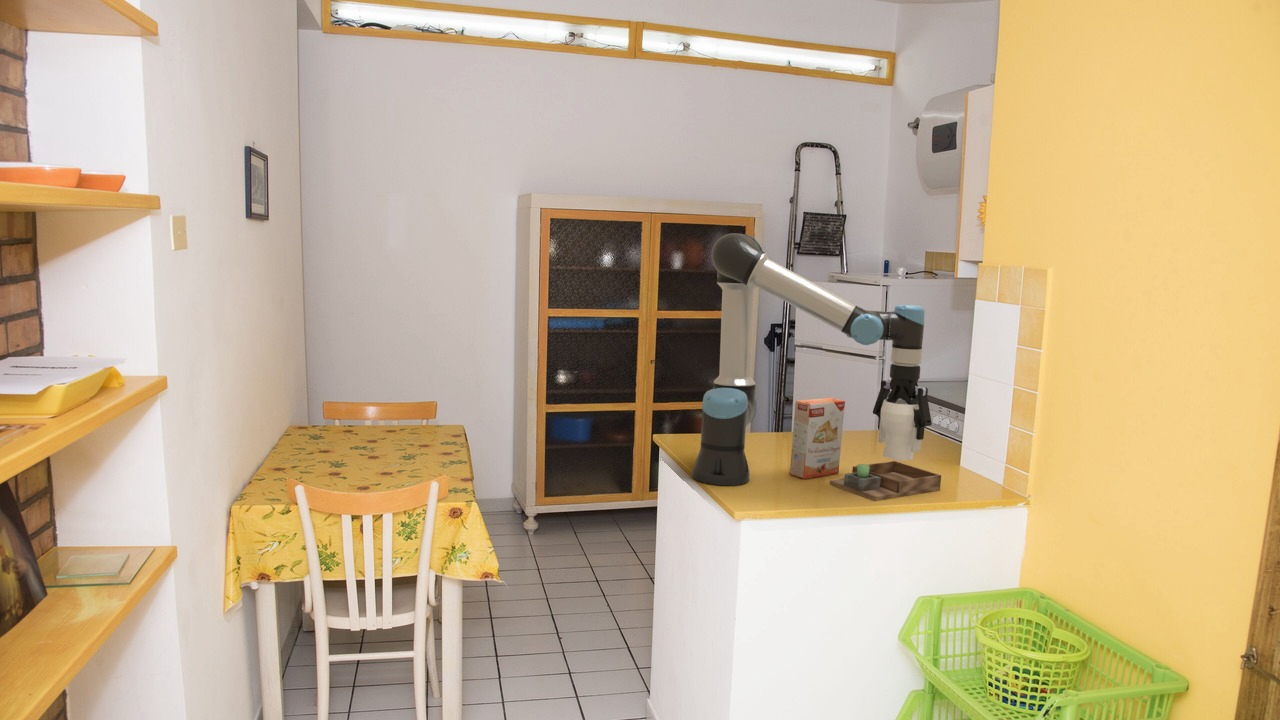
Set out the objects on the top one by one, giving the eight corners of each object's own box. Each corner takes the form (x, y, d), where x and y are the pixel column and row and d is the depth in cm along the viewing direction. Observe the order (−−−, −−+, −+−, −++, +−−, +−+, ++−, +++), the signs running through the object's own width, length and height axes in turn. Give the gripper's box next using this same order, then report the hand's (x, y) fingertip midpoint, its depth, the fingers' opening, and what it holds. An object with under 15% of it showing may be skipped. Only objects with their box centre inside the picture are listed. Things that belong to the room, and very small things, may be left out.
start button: (862, 480, 217) (863, 467, 217) (854, 477, 220) (855, 464, 219) (870, 479, 219) (871, 466, 218) (862, 476, 221) (863, 463, 221)
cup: (913, 464, 218) (918, 407, 216) (872, 457, 223) (876, 401, 221) (923, 456, 227) (928, 401, 225) (884, 450, 232) (888, 396, 230)
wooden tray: (874, 500, 211) (876, 485, 210) (829, 484, 224) (830, 469, 224) (939, 490, 223) (941, 475, 223) (893, 474, 237) (894, 460, 236)
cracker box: (805, 480, 227) (810, 403, 224) (788, 475, 232) (793, 399, 229) (840, 474, 235) (846, 400, 232) (824, 469, 240) (829, 396, 237)
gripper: (951, 369, 214) (944, 455, 217) (882, 357, 233) (876, 436, 236) (931, 370, 210) (924, 457, 213) (862, 358, 229) (856, 438, 232)
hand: (899, 446), depth 224 cm, fingers closed on cup, 11 cm apart
